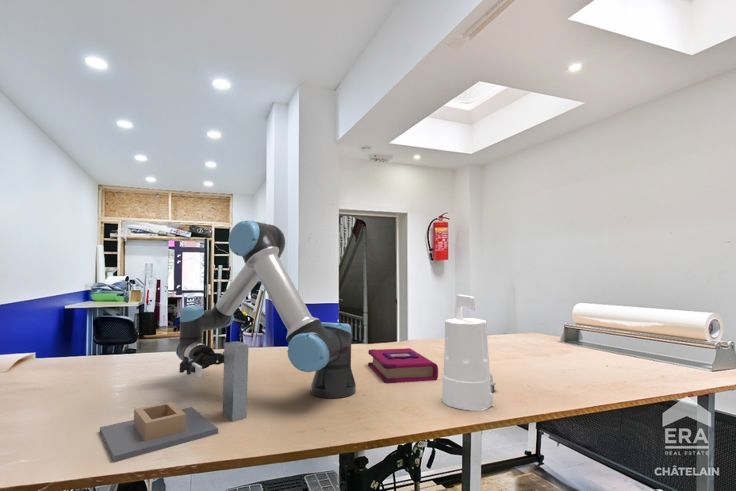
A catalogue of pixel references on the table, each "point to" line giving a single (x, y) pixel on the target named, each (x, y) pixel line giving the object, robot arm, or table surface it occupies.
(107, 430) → the slotted post base
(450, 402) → the white pump bottle
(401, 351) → the book
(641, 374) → the table surface
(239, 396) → the grey rectangular post
